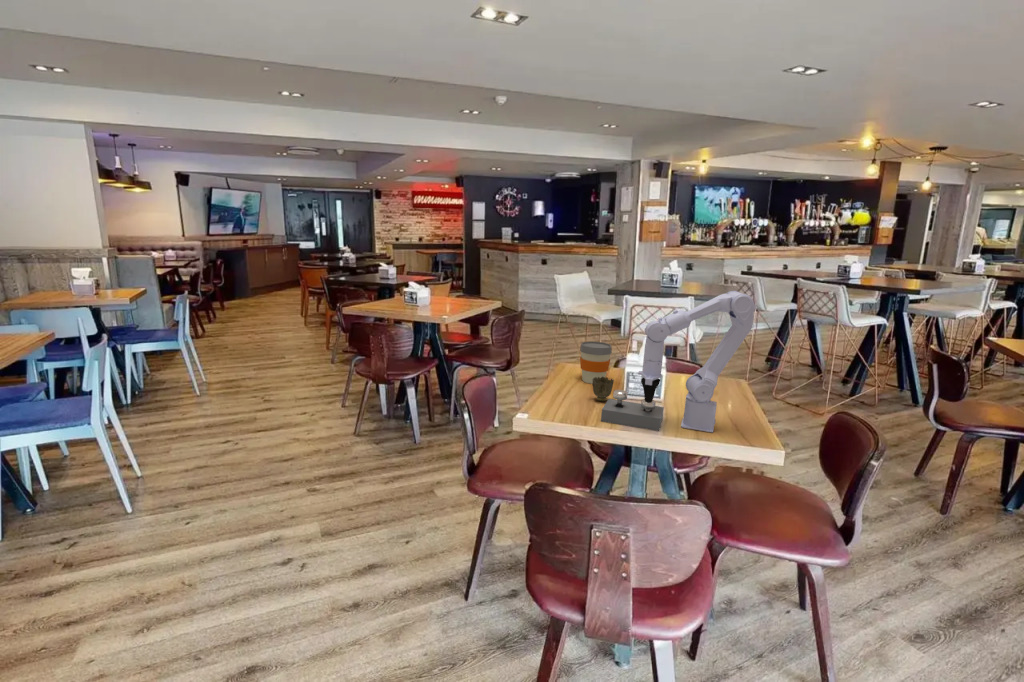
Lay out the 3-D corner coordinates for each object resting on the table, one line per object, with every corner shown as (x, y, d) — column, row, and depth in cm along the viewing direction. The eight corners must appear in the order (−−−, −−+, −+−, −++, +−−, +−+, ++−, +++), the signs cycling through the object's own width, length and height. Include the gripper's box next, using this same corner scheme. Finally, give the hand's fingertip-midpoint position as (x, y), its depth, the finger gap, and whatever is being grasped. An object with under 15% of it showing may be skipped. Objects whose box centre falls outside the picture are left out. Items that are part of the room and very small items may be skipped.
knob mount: (662, 418, 170) (663, 407, 169) (659, 431, 159) (660, 418, 158) (607, 409, 176) (608, 398, 175) (600, 421, 165) (601, 409, 164)
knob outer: (627, 404, 169) (628, 391, 168) (625, 408, 165) (626, 394, 164) (613, 402, 171) (614, 389, 170) (611, 406, 167) (612, 392, 166)
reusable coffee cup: (611, 385, 204) (615, 348, 201) (580, 384, 204) (582, 347, 201) (605, 377, 217) (608, 342, 214) (575, 375, 216) (578, 340, 213)
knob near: (655, 413, 167) (656, 400, 166) (653, 418, 163) (655, 404, 162) (641, 411, 168) (642, 398, 167) (639, 415, 164) (640, 402, 163)
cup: (586, 399, 186) (588, 378, 184) (600, 396, 191) (601, 375, 189) (602, 405, 180) (604, 383, 179) (616, 401, 185) (618, 380, 184)
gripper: (642, 353, 170) (638, 393, 172) (636, 362, 156) (632, 405, 159) (665, 356, 167) (660, 396, 170) (661, 366, 154) (656, 409, 157)
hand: (648, 401), depth 164 cm, fingers closed
